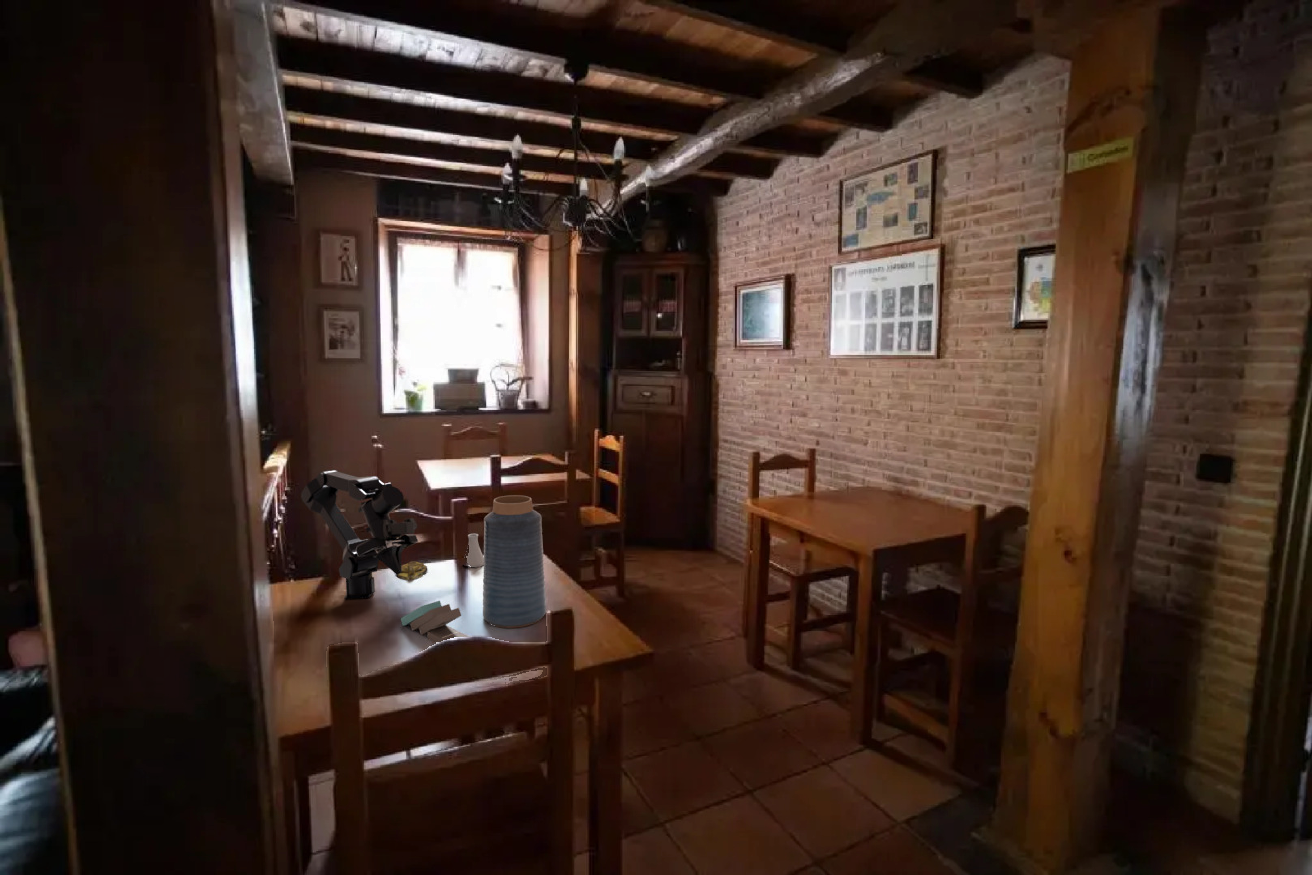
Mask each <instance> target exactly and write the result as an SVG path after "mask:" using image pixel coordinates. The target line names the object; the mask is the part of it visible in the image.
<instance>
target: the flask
mask: <svg viewBox="0 0 1312 875" xmlns="http://www.w3.org/2000/svg"><path fill="white" fill-rule="evenodd" d="M478 537H479V534H478V533H470V534H468V535H467V538H468V545H469V553H468V556H466V558H467V563H468V565H470V566H471V567H475V569H476V568H479V567H484V554H483V553H482V551H481V548H480V545H479V541H478V540H479V539H478ZM468 545H467V546H468ZM471 567H470V568H471Z"/></svg>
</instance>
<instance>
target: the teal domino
mask: <svg viewBox="0 0 1312 875" xmlns="http://www.w3.org/2000/svg"><path fill="white" fill-rule="evenodd" d="M441 606H442V603H441V600H436V601H434V602H431V603H428V604H423V605H421V606H419V607H418V608H416V609H415V610H412V611H411V612H409V613H408V614H406V615H404V616H402V617H401V618H400V621H401V624H402V627H405V626H408V625H410V623H411V622H412V621H414V620H416V619H417V618H419V617H420V616H422V615H423V614H425V613H426V612H428V611H430V610H432V609H435V608H438V607H441Z"/></svg>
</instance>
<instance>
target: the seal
mask: <svg viewBox="0 0 1312 875" xmlns="http://www.w3.org/2000/svg"><path fill="white" fill-rule="evenodd" d="M401 569H402V573H401V574H398V575H396V574H395V576H396V577H397V578H398V577H399V578H398V579H400V580H404V581H405V580H406V581H414V580H416V579H420V578H421V577H423V575H424V576H426V574H427V571H428V566H427V565H426V564H424V562H418V561H415V560H414V561H412V560H411V561H410V562H408V563H405V564H401ZM419 577H420V578H419Z"/></svg>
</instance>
